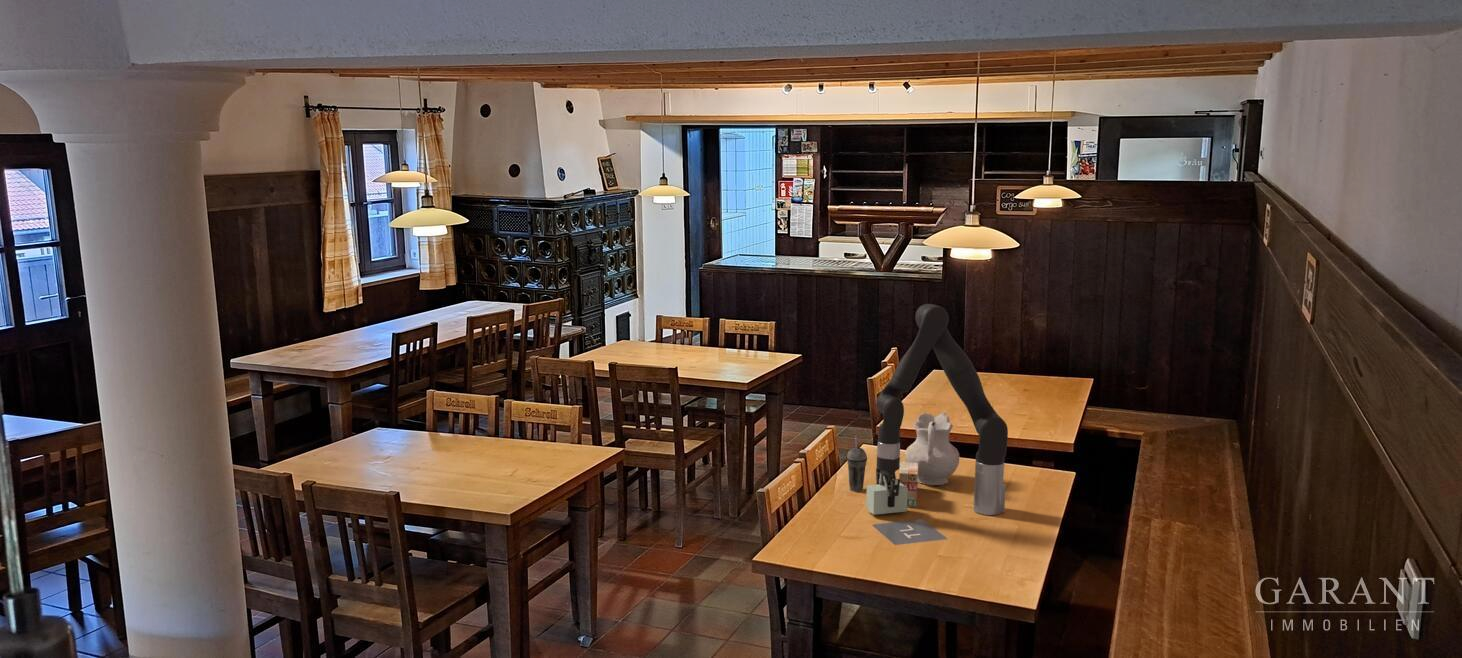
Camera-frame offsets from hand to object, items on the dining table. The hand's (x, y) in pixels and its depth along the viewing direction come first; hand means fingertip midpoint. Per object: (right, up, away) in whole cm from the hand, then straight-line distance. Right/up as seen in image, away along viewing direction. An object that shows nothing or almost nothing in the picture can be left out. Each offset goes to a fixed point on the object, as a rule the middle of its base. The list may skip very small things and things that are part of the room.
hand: (886, 503), depth 347 cm
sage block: (0, -2, 0) cm, 2 cm away
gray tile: (+5, -7, -15) cm, 18 cm away
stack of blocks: (+10, -1, +18) cm, 20 cm away
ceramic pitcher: (+21, +2, +34) cm, 41 cm away
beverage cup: (-7, 0, +25) cm, 26 cm away
